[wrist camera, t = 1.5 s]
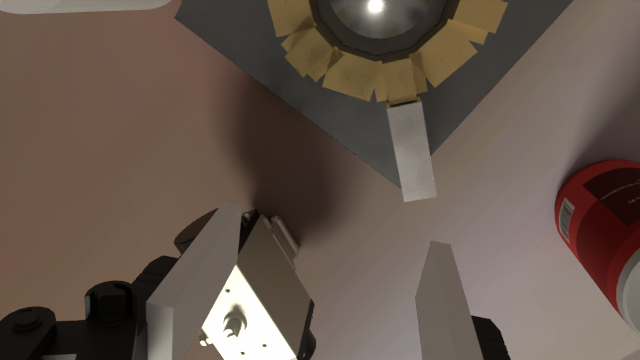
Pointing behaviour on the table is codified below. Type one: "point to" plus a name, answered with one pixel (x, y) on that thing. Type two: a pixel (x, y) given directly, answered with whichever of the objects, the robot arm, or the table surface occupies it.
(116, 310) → the robot arm
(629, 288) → the canned food
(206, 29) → the base plate
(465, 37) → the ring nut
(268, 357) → the pneumatic valve
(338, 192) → the table surface
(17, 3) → the white cylinder
